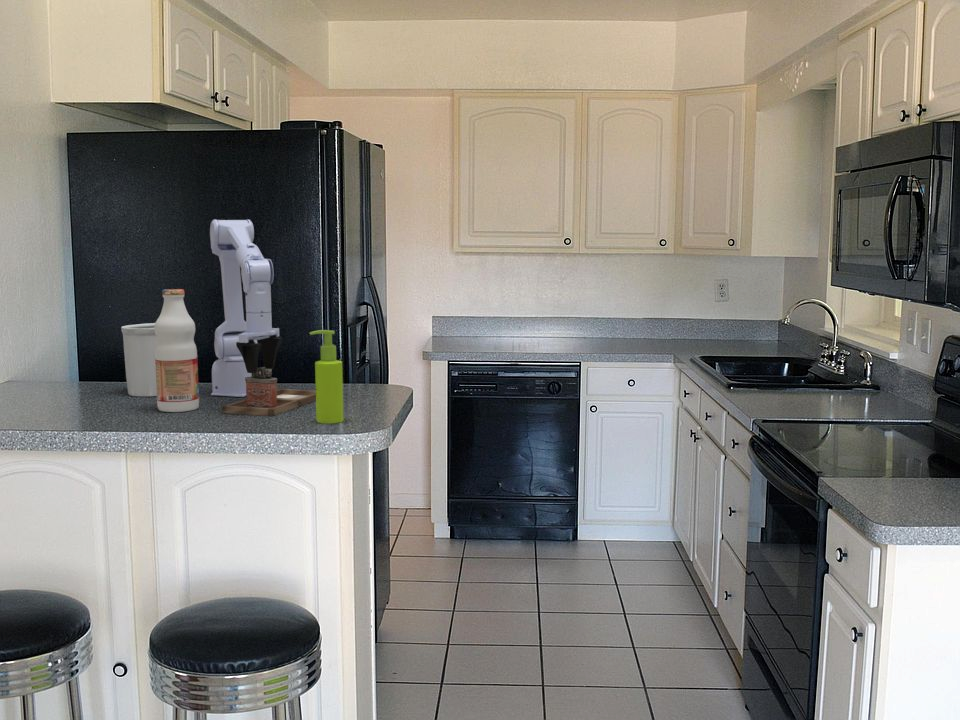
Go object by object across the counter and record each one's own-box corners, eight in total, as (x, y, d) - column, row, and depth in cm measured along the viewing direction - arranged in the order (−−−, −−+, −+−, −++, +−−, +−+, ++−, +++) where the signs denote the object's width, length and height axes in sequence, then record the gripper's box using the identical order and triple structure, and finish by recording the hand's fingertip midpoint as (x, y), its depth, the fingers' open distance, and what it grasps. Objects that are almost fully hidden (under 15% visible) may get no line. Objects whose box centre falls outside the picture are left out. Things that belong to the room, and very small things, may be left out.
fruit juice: (149, 410, 230) (143, 290, 226) (182, 404, 238) (177, 287, 234) (174, 414, 225) (169, 291, 221) (207, 408, 232) (203, 289, 229)
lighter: (280, 409, 231) (279, 367, 229) (273, 411, 228) (271, 369, 226) (250, 407, 233) (249, 365, 232) (243, 409, 230) (241, 367, 229)
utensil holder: (111, 395, 251) (108, 326, 248) (151, 386, 264) (148, 321, 262) (158, 399, 245) (155, 328, 243) (197, 389, 259) (194, 323, 256)
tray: (222, 412, 226) (221, 406, 226) (280, 394, 251) (279, 388, 251) (271, 416, 222) (271, 409, 222) (325, 397, 247) (325, 391, 246)
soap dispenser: (312, 418, 219) (310, 329, 217) (344, 418, 220) (342, 328, 217) (310, 423, 214) (308, 332, 211) (342, 423, 214) (340, 331, 211)
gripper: (257, 315, 219) (259, 375, 221) (289, 310, 233) (291, 367, 235) (229, 314, 222) (231, 374, 223) (263, 309, 235) (265, 365, 237)
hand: (260, 370), depth 229 cm, fingers open, 7 cm apart
